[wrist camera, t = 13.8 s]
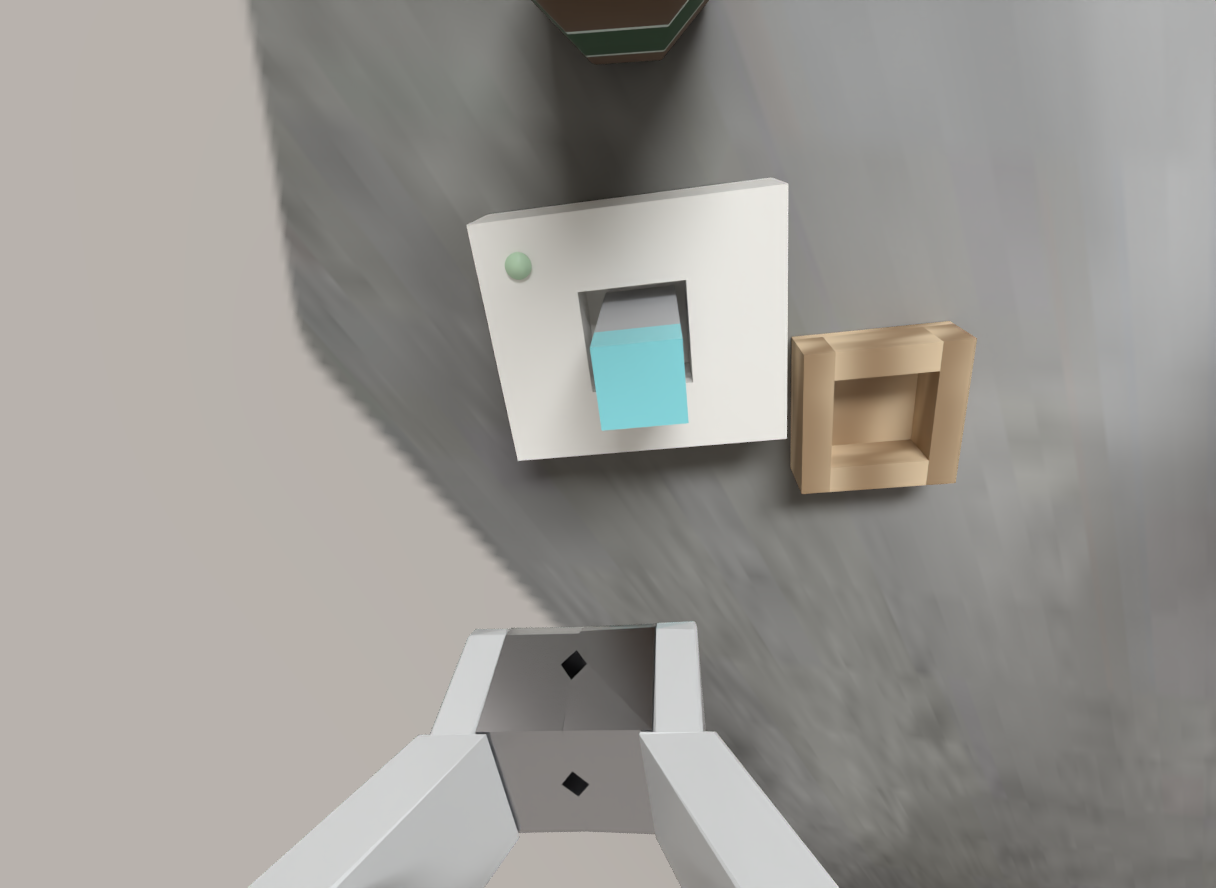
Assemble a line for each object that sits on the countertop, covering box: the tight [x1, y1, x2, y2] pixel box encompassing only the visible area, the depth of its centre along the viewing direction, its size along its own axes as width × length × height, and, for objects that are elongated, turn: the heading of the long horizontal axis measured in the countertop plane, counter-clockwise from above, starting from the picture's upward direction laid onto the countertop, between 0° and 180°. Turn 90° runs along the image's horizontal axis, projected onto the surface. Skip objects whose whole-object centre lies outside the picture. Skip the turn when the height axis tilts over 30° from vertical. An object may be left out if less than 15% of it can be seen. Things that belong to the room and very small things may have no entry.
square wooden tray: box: [790, 321, 977, 494], centre depth 32 cm, size 8×8×3 cm
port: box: [466, 177, 788, 461], centre depth 31 cm, size 14×12×4 cm
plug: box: [590, 285, 689, 431], centre depth 28 cm, size 4×4×9 cm
